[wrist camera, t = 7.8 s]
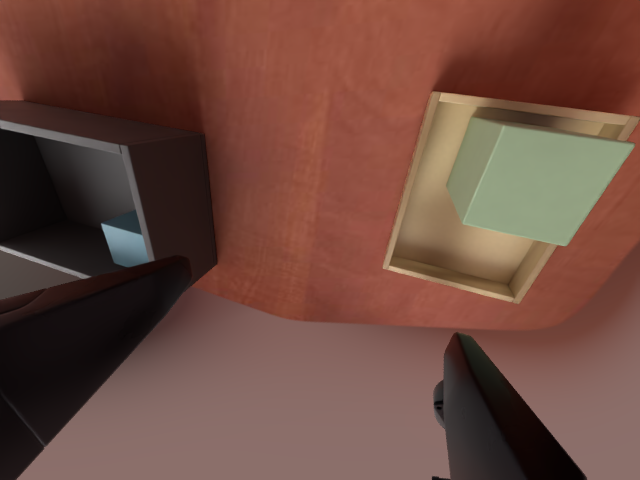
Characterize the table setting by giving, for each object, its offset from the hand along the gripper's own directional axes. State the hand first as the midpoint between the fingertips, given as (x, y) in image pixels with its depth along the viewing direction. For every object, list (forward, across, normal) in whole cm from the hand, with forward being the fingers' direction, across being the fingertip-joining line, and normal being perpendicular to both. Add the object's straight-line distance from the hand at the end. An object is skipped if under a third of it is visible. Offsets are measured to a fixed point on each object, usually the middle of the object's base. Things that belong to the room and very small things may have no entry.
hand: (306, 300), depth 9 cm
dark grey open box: (+12, +22, +4) cm, 26 cm away
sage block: (+11, -7, -4) cm, 14 cm away
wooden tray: (+12, -7, -1) cm, 14 cm away
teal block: (+9, +14, +7) cm, 18 cm away
